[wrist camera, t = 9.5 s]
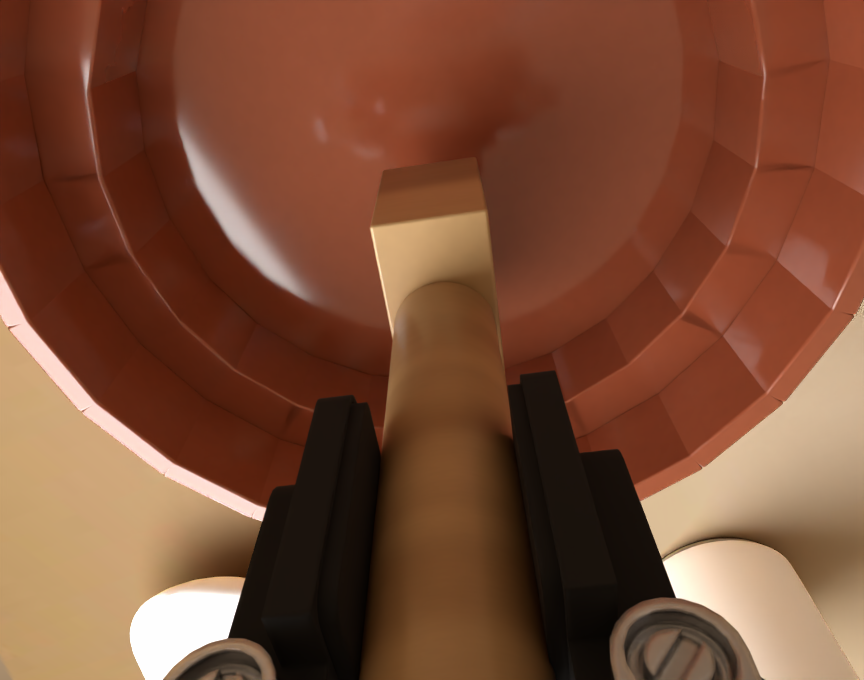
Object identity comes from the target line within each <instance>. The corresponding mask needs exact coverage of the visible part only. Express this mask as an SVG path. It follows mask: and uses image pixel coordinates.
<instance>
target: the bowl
mask: <svg viewBox="0 0 864 680" xmlns="http://www.w3.org/2000/svg"><path fill="white" fill-rule="evenodd" d="M470 157H475V158H476V159H477V163H478V168H479V172H480V177H481V182H482V186H483V191H484V196H485V200H486V205H487V210H488V217H489V226H490V235H491V245H492V254H493V263H494V273H495V282H496V292H497V301H498V310H499V320H500V329H501V338H502V348H503V357H504V366H505V376H506V385H513V384H520V374H527V373H535V372H544V371H552V370H555V372H556V374H557V378H558V381H559V384H560V388H561V391H562V395H563V398H564V402H565V405H566V408H567V412H568V415H569V419H570V422H571V426H572V429H573V433H574V436H575V439H576V443H577V446H578V450H579V453H583V452H592V451H601V450H610V449H619V451H620V452H621V454H622V456H623V458H624V460H625V463H626V466H627V468H628V471H629V474H630V476H631V479H632V482H633V484H634V487H635V490H636V492H637V495H638V497H639V500H640V501H642V500H644V499H646V498H648V497H650V496H652V495H653V494H655V493H657V492H659V491H661V490H663V489H665V488H667V487H669V486H671V485H673V484H675V483H676V482H678V481H680V480H682V479H684V478H686V477H688V476H690V475H692V474H694V473H696V472H698V471H699V470H701V469H702V467H705V466H707V465H708V464H709V463H710V462H712V461H713V460H714V459H715V458H717V457H718V456H719V455H720V454H721V453H723V452H724V451H725V450H726V449H728V448H729V447H730V446H731V445H733V444H734V443H735V442H736V441H738V440H739V439H740V438H741V437H743V436H744V435H745V434H746V433H747V432H749V431H750V430H751V429H752V428H754V427H755V426H756V425H757V424H759V423H760V422H761V421H762V420H764V419H765V418H766V417H767V416H769V415H770V414H771V413H772V412H774V411H775V410H776V409H777V408H778V407H780V406H781V405H782V404H783V401H786V400H787V399H788V398H789V396H790V395H791V394H792V393H793V391H794V390H795V389H796V388H797V387H798V385H799V384H800V383H801V382H802V380H803V379H804V378H805V377H806V375H807V374H808V373H809V372H810V371H811V369H812V368H813V367H814V366H815V364H816V363H817V362H818V361H819V359H820V358H821V357H822V356H823V355H824V353H825V352H826V351H827V350H828V348H829V347H830V346H831V345H832V344H833V342H834V341H835V340H836V339H837V337H838V336H839V335H840V334H841V332H842V331H843V330H844V329H845V328H846V326H847V325H848V324H849V323H850V321H851V320H852V319H853V317H854V315H853V314H856V313H857V311H858V309H859V307H860V305H861V303H862V301H863V299H864V0H0V317H1V318H2V320H3V322H4V324H5V325H6V326H9V327H8V329H9V331H10V332H11V333H12V334H13V335H14V337H15V338H16V339H17V340H18V341H19V342H20V343H21V345H22V346H23V347H24V348H25V349H26V350H27V351H28V353H29V354H30V355H31V356H32V357H33V358H34V360H35V361H36V362H37V363H38V364H39V365H40V366H41V368H42V369H43V370H44V371H45V372H46V373H47V375H48V376H49V377H50V378H51V379H52V380H53V381H54V383H55V384H56V385H57V386H58V387H59V388H60V390H61V391H62V392H63V393H64V394H65V395H66V396H67V398H68V399H69V400H70V401H71V402H72V403H73V404H74V406H75V407H76V408H77V409H78V410H79V411H82V414H83V415H85V416H86V417H87V418H89V419H90V420H91V421H93V422H94V423H95V424H96V425H98V426H99V427H100V428H102V429H103V430H104V431H106V432H107V433H108V434H110V435H111V436H112V437H114V438H115V439H116V440H117V441H119V442H120V443H121V444H123V445H124V446H125V447H127V448H128V449H129V450H131V451H132V452H133V453H135V454H136V455H137V456H138V457H140V458H141V459H142V460H144V461H145V462H146V463H148V464H149V465H150V466H152V467H153V468H154V469H156V470H157V471H158V472H159V473H161V474H164V476H165V477H168V478H170V479H172V480H174V481H176V482H178V483H180V484H182V485H184V486H186V487H188V488H190V489H192V490H194V491H196V492H198V493H200V494H202V495H204V496H206V497H208V498H210V499H212V500H215V501H217V502H219V503H221V504H223V505H225V506H227V507H229V508H231V509H233V510H235V511H237V512H239V513H241V514H243V515H245V516H247V517H251V516H252V518H253V519H256V520H260V521H263V517H264V514H265V511H266V507H267V504H268V501H269V497H270V495H271V493H272V490H273V489H274V488H275V487H277V486H285V485H294V484H295V483H296V479H297V475H298V471H299V467H300V464H301V460H302V456H303V452H304V448H305V444H306V440H307V436H308V432H309V429H310V425H311V421H312V417H313V413H314V409H315V405H316V402H317V400H318V399H319V398H328V397H336V396H344V395H354V397H355V399H356V401H357V403H362V402H367V403H368V405H369V408H370V411H371V415H372V420H373V424H374V428H375V432H376V436H377V441H378V445H379V449H380V453H381V451H382V441H383V431H384V421H385V411H386V401H387V391H388V381H389V372H390V362H391V352H392V342H393V339H392V334H391V330H390V325H389V320H388V315H387V310H386V305H385V300H384V295H383V290H382V285H381V280H380V275H379V270H378V266H377V261H376V256H375V251H374V246H373V241H372V236H371V231H370V225H371V221H372V217H373V212H374V208H375V203H376V199H377V194H378V190H379V185H380V181H381V176H382V172H383V171H384V170H388V169H395V168H401V167H408V166H415V165H422V164H429V163H436V162H443V161H450V160H457V159H464V158H470ZM507 393H508V387H507ZM508 399H509V398H508Z"/></svg>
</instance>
